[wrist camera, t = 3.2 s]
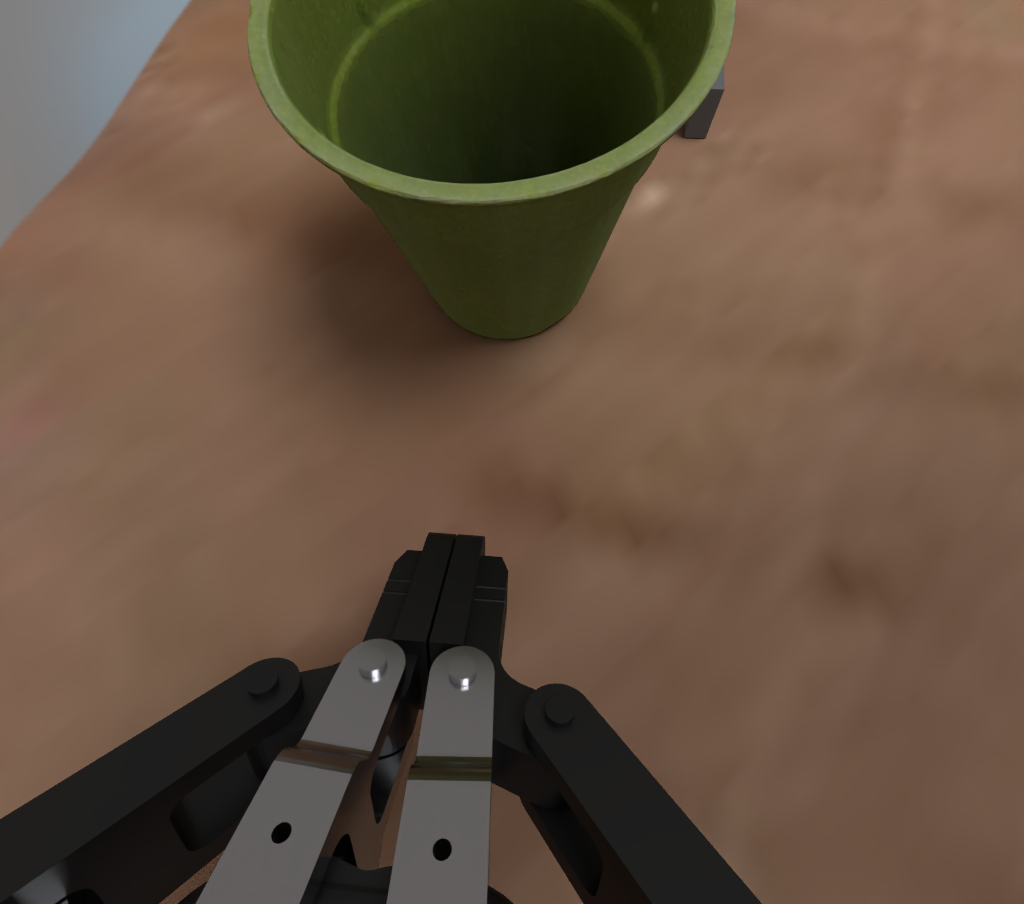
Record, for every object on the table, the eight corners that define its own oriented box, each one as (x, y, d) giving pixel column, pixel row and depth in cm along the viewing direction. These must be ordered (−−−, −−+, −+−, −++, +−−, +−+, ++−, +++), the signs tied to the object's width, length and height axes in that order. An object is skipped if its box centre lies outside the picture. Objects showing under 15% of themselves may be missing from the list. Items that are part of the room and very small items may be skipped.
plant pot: (357, 196, 25) (222, -118, 14) (596, 143, 25) (649, -203, 14) (400, 423, 21) (269, 250, 11) (673, 359, 22) (817, 128, 11)
